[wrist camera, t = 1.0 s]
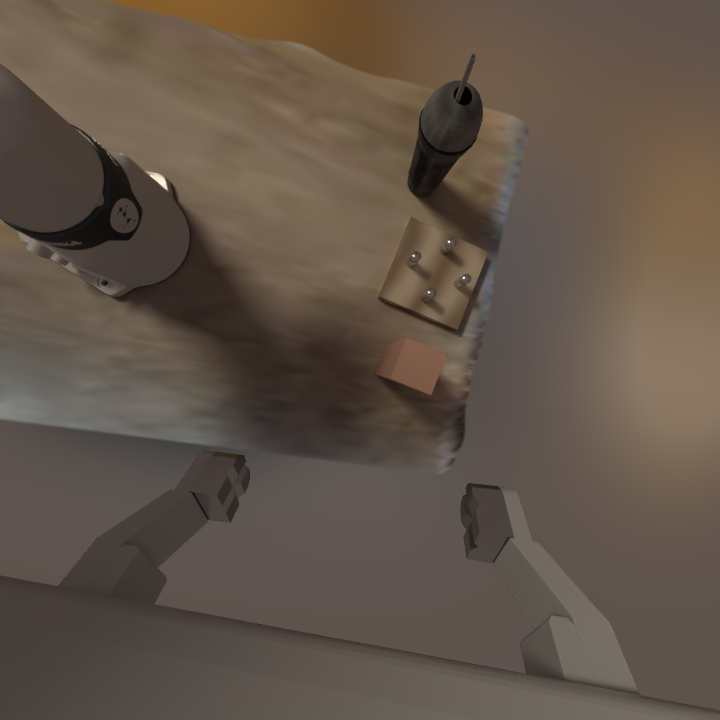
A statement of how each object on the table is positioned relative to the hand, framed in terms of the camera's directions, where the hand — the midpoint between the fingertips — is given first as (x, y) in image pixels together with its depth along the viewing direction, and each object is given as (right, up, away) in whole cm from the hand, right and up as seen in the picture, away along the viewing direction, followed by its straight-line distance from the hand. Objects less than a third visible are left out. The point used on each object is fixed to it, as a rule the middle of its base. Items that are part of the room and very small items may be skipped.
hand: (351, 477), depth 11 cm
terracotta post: (+6, +3, +35) cm, 36 cm away
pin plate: (+11, +17, +36) cm, 42 cm away
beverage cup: (+10, +32, +36) cm, 49 cm away
